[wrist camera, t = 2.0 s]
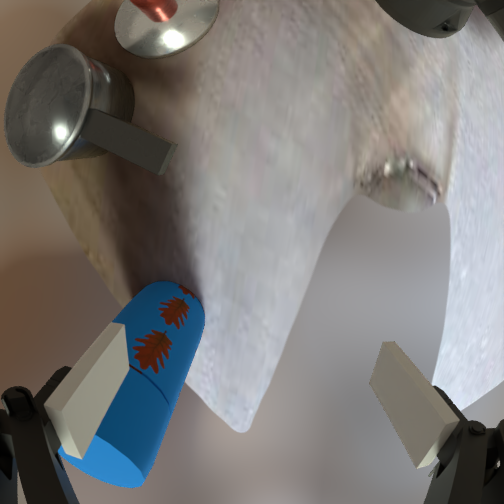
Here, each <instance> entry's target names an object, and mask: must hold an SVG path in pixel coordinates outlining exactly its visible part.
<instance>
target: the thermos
mask: <svg viewBox="0 0 504 504" xmlns="http://www.w3.org/2000/svg"><path fill="white" fill-rule="evenodd" d="M112 322H113V323H119V324H125V334H126V344H127V353H128V361H129V368H130V369H129V371H128V373H127V375H126V376H125V378H124V380H123V382H122V384H121V386H120V387H119V389H118V391H117V393H116V395H115V397H114V399H113V400H112V402H111V404H110V406H109V408H108V410H107V412H106V414H105V416H104V418H103V419H102V421H101V423H100V425H99V427H98V429H97V431H96V433H95V435H94V437H93V439H92V441H91V443H90V445H89V447H88V449H87V451H86V453H85V455H84V457H83V459H79V458H76V457H74V456H71V455H68V454H66V453H65V451H64V449H63V447H62V445H61V446H60V448H59V450H58V453H59V454H60V455H61V456H62V457H63V458H64V459H66V460H67V461H68V462H69V463H71V464H72V465H74V466H75V467H77V468H79V469H80V470H81V471H83V472H85V473H86V474H88V475H90V476H92V477H94V478H97V479H99V480H101V481H104V482H106V483H109V484H112V485H116V486H120V487H128V488H134V487H139V486H142V484H143V482H144V481H145V479H146V477H147V475H148V473H149V472H150V470H151V468H152V466H153V464H154V461H155V459H156V456H157V453H158V450H159V448H160V445H161V442H162V440H163V437H164V434H165V431H166V429H167V426H168V424H169V421H170V418H171V415H172V413H173V410H174V407H175V405H176V402H177V400H178V397H179V394H180V392H181V389H182V386H183V384H184V381H185V379H186V376H187V374H188V371H189V368H190V366H191V363H192V361H193V358H194V355H195V353H196V350H197V348H198V345H199V343H200V339H201V336H202V333H203V329H204V326H205V314H204V311H203V308H202V306H201V303H200V302H199V301H198V299H197V298H196V297H195V296H194V294H193V293H192V292H190V291H189V290H187V289H186V288H185V287H183V286H182V285H179V284H176V283H173V282H170V281H157V282H154V283H152V284H150V285H147V286H146V287H145V288H144V289H142V290H141V291H140V292H139V293H138V294H137V295H136V296H135V297H134V298H133V299H132V300H131V301H130V302H129V303H128V304H127V305H126V307H125V308H124V309H123V310H122V311H121V312H120V313H119V314H118V316H117V317H116V318H115V319H114V320H113V321H112Z"/></svg>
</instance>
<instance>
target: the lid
mask: <svg viewBox="0 0 504 504" xmlns="http://www.w3.org/2000/svg"><path fill="white" fill-rule="evenodd" d="M218 12H219V0H124V2H123V3H122V5H121V6H120V8H119V10H118V12H117V15H116V19H115V35H116V38H117V40H118V42H119V43H120V45H121V46H122V47H123V48H124V49H126V50H127V51H129V52H131V53H132V54H134V55H136V56H139V57H142V58H149V59H158V58H165V57H169V56H173V55H175V54H178V53H180V52H183V51H185V50H186V49H188V48H190V47H192V46H193V45H194V44H196V43H197V42H198V41H200V40H201V39H202V38H203V37H204V36H205V35H206V34H207V33H208V32H209V30H210V29H211V28H212V26H213V24H214V23H215V21H216V18H217V16H218Z"/></svg>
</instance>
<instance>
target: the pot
mask: <svg viewBox="0 0 504 504" xmlns="http://www.w3.org/2000/svg"><path fill="white" fill-rule="evenodd" d="M133 112H134V92H133V88H132V85H131V83H130V81H129V79H128V78H127V77H126V75H125V74H123V73H122V72H121V71H119V70H118V69H116V68H113V67H111V66H109V65H107V64H104V63H102V62H100V61H97V60H95V59H92V58H90V57H88V56H85V54H84V53H83V52H81V51H80V50H79V49H77V48H75V47H73V46H70V45H67V44H55V45H51V46H49V47H46V48H44V49H43V50H41V51H39V52H38V53H37V54H35V55H34V56H33V57H32V58H31V59H30V60H29V61H28V62H27V63H26V64H25V65H24V66H23V68H22V69H21V71H20V72H19V74H18V75H17V77H16V79H15V81H14V83H13V85H12V87H11V90H10V92H9V95H8V98H7V102H6V107H5V114H4V131H5V137H6V142H7V144H8V147H9V150H10V152H11V153H12V155H13V156H14V158H15V159H16V160H17V161H18V162H20V163H21V164H23V165H24V166H27V167H31V168H37V167H44V166H48V165H51V164H53V163H55V162H56V161H63V160H73V159H83V158H93V157H98V156H101V155H103V154H105V153H107V152H108V151H110V152H112V153H114V154H116V155H118V156H120V157H122V158H124V159H126V160H128V161H130V162H132V163H134V164H136V165H138V166H140V167H142V168H144V169H146V170H148V171H150V172H152V173H154V174H156V175H162V174H164V173H165V171H166V169H167V167H168V164H169V162H170V160H171V158H172V156H173V154H174V152H175V149H176V147H177V145H178V144H176V143H174V142H172V141H169V140H167V139H165V138H163V137H161V136H159V135H157V134H154V133H152V132H150V131H148V130H146V129H143V128H141V127H139V126H137V125H134V124H132V123H131V120H132V116H133Z"/></svg>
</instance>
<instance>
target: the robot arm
mask: <svg viewBox="0 0 504 504" xmlns="http://www.w3.org/2000/svg"><path fill="white" fill-rule="evenodd" d="M376 1H377V3H378V4H379V5H380V6H381V7H382V8H383V10H384V11H385V12H386V13H388V14H389V15H390V16H391V17H392V18H393V19H395V20H396V21H397V22H399V23H400V24H402V25H403V26H405V27H406V28H408V29H410V30H412V31H414V32H416V33H418V34H421V35H424V36H427V37H432V38H446V37H449V36H451V35H453V34H455V33H457V32H458V31H460V30H461V29H462V28H463V27H464V25H465V24H466V22H467V20H468V18H469V16H470V14H471V12H472V10H473V8H474V6H475V5H476V4H477V6H478V7H479V8H480V9H481V11H482V12H483V13H484V14H485V16H486V17H487V19H488V20H489V21H490V23H491V24H492V26H493V27H494V28H495V30H496V31H497V33H498V34H499V35H500V37H501V38H502V40H503V41H504V0H376ZM129 369H130V368H129V361H128V353H127V344H126V334H125V324H119V323H113V322H111V323H110V324H109V325H108V326H107V327H106V328H105V330H104V331H103V332H102V333H101V334H100V335H99V337H98V338H97V339H96V340H95V341H94V342H93V344H92V345H91V346H90V347H89V349H88V350H87V351H86V352H85V353H84V354H83V356H82V357H81V358H80V359H79V361H78V362H77V363H76V364H75V365H74V367H73V368H71V367H67V366H64V367H63V368H61V369H59V370H57V371H56V372H55V373H54V374H53V375H52V377H51V378H50V379H49V380H48V381H47V382H46V385H44V386H43V387H42V389H41V390H40V391H39V392H38V393H37V394H36V396H35V397H34V398H33V396H32V394H31V392H30V391H29V390H28V389H27V388H24V387H22V386H15V387H11V388H9V389H7V390H6V391H4V393H3V394H2V397H1V401H2V403H3V405H4V407H5V410H3V409H0V504H18V501H17V500H18V498H17V473H18V472H19V476H20V480H21V484H22V488H23V491H24V495H25V498H26V501H27V504H79V501H78V499H77V497H76V495H75V493H74V490H73V488H72V486H71V483H70V481H69V478H68V476H67V474H66V471H65V468H64V466H63V463H62V460H61V457H60V455H59V453H58V450H59V448H60V446H61V445H62V447H63V449H64V451H65V453H66V454H68V455H71V456H74V457H76V458H79V459H83V457H84V455H85V453H86V451H87V449H88V447H89V445H90V443H91V441H92V439H93V437H94V435H95V433H96V431H97V429H98V427H99V425H100V423H101V421H102V419H103V418H104V416H105V414H106V412H107V410H108V408H109V406H110V404H111V402H112V400H113V399H114V397H115V395H116V393H117V391H118V389H119V387H120V386H121V384H122V382H123V380H124V378H125V376H126V375H127V373H128V371H129ZM369 384H370V386H371V387H372V389H373V391H374V393H375V395H376V396H377V398H378V400H379V402H380V403H381V405H382V407H383V409H384V411H385V412H386V414H387V415H388V418H389V419H390V421H391V423H392V425H393V427H394V428H395V430H396V432H397V434H398V436H399V437H400V439H401V441H402V443H403V445H404V446H405V449H406V450H407V452H408V454H409V456H410V458H411V460H412V461H413V464H414V465H415V467H416V469H417V468H420V467H424V466H427V465H430V464H431V463H432V461H433V460H434V458H435V457H436V456H437V457H438V459H439V460H440V461H439V462H438V463H437V465H436V466H435V467H434V469H433V470H432V471H431V472H430V474H429V477H430V476H431V475H432V474H433V473H434V474H433V478H432V481H431V484H430V487H429V490H428V493H427V496H426V499H425V501H424V504H504V419H503V420H501V421H500V423H499V424H498V426H497V427H496V428H487V429H486V427H485V426H484V425H483V424H482V423H480V422H478V421H473V420H471V421H468V420H467V419H466V418H465V417H464V415H463V414H462V413H461V412H460V410H459V409H458V408H457V407H456V405H455V404H453V402H452V401H451V399H449V397H448V396H447V395H446V393H445V392H444V391H443V390H441V389H440V388H438V387H437V386H432V385H431V384H430V382H429V381H428V380H427V379H426V378H425V377H424V375H423V374H422V373H421V372H420V371H419V369H418V368H417V367H416V366H415V365H414V363H413V362H412V361H411V360H410V359H409V357H408V356H407V355H406V354H405V353H404V352H403V350H402V349H401V348H400V347H399V346H398V345H397V344H396V342H395V341H394V342H383V343H382V346H381V349H380V352H379V355H378V358H377V362H376V364H375V367H374V371H373V373H372V376H371V379H370V382H369ZM499 460H500V466H499V467H497V463H498V461H499Z"/></svg>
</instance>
